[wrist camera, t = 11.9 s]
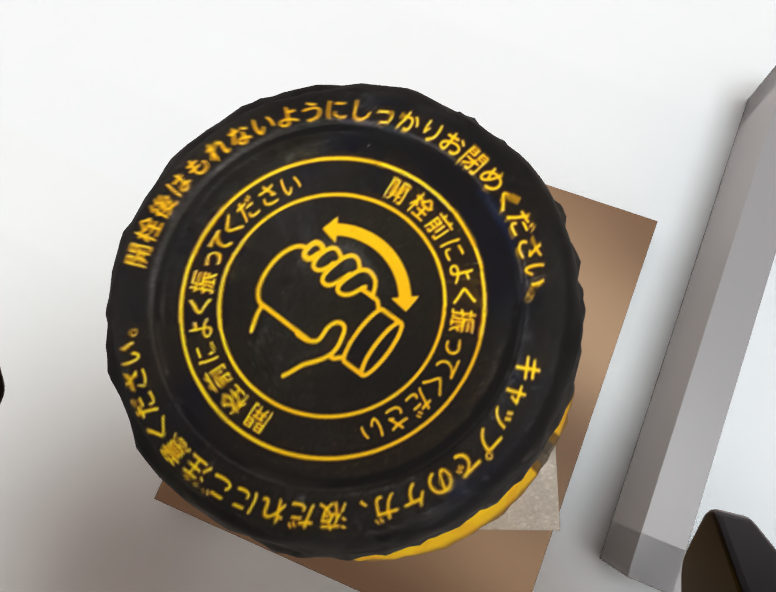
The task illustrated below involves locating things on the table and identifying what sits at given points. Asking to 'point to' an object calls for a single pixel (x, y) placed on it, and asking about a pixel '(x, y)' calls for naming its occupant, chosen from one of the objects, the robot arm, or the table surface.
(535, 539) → the walnut board
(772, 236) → the parts tub
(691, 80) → the table surface
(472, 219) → the condiment
